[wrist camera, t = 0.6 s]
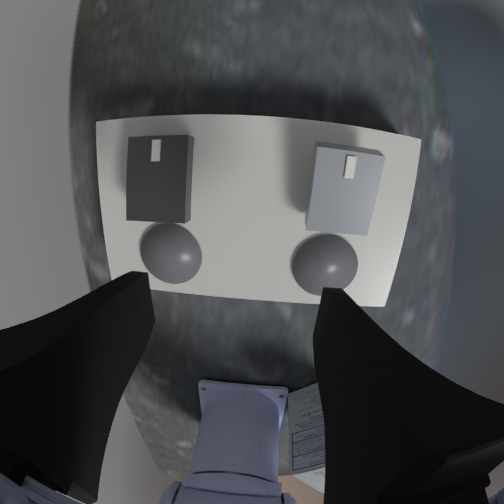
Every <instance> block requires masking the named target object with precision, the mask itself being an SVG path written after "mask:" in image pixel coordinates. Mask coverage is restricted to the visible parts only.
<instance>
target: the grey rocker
mask: <svg viewBox="0 0 504 504" xmlns="http://www.w3.org/2000/svg"><path fill="white" fill-rule="evenodd" d="M384 161H385V156H384V155H383V154H382V153H381V152H380V151H379V150H375V149H369V148H363V147H356V146H350V145H343V144H335V143H327V142H319V141H315V143H314V151H313V160H312V168H311V176H310V184H309V192H308V200H307V207H306V214H305V226H306V230H308V231H319V232H331V233H342V234H353V235H363V236H367V234H368V230H369V226H370V222H371V218H372V214H373V210H374V206H375V202H376V198H377V193H378V189H379V185H380V180H381V175H382V171H383V166H384Z"/></svg>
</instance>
